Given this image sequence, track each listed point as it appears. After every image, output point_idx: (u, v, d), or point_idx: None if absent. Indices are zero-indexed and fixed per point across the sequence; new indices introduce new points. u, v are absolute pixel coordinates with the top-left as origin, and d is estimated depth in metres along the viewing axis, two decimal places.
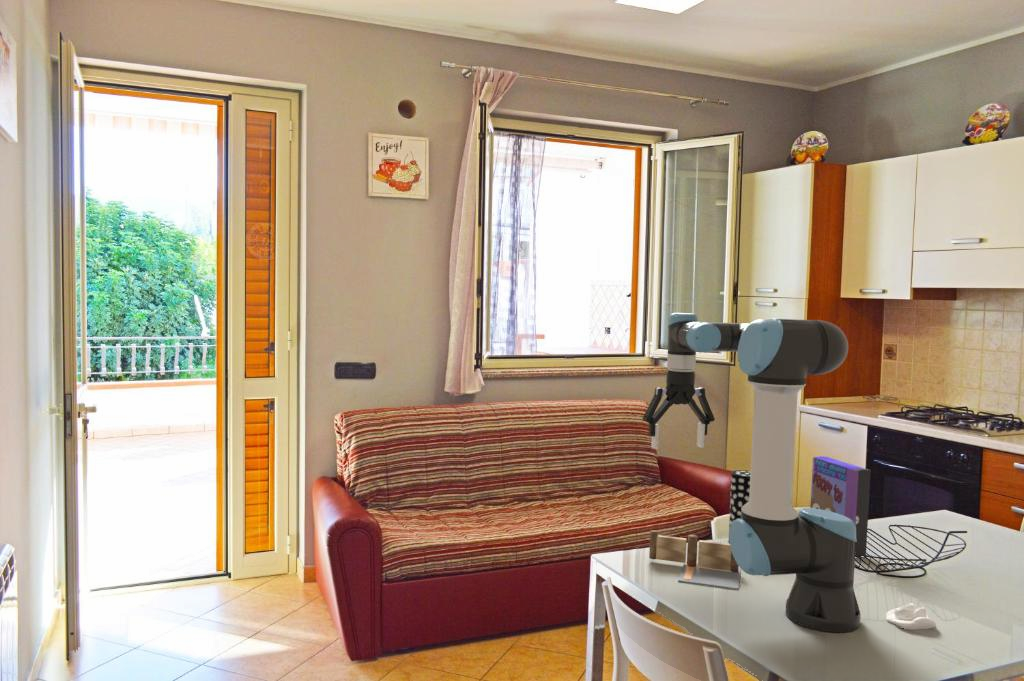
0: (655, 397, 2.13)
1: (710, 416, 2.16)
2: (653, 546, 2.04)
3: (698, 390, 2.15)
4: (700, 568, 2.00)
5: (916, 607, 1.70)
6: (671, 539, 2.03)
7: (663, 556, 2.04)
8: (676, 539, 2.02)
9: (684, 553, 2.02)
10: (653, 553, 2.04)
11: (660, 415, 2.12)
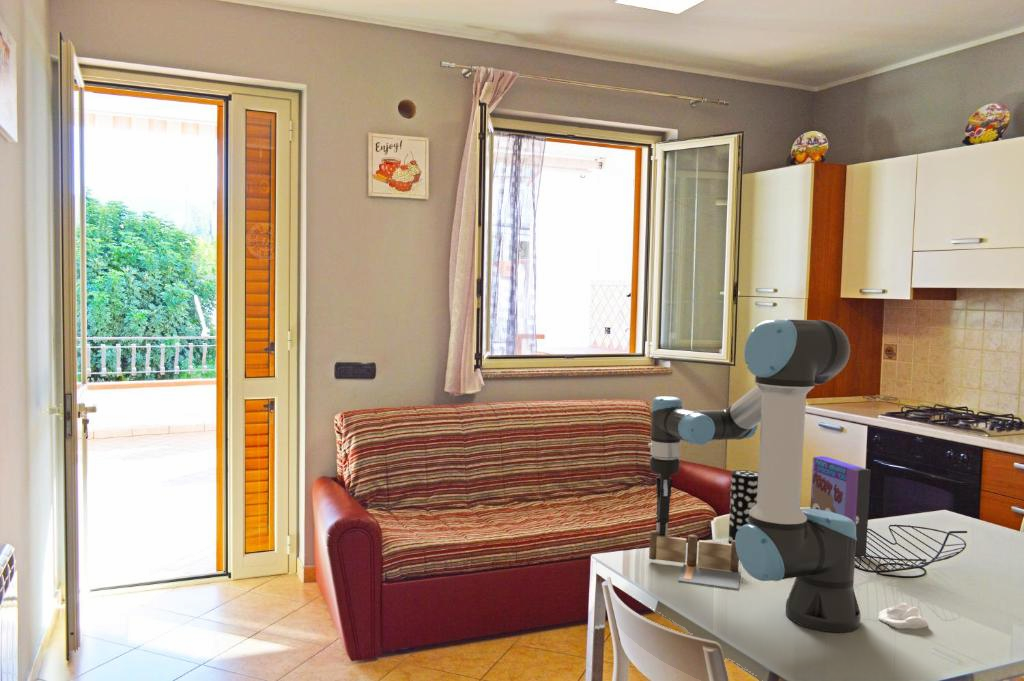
0: (664, 498, 2.00)
1: None
2: (653, 546, 2.04)
3: None
4: (700, 568, 2.00)
5: (908, 606, 1.70)
6: (671, 539, 2.03)
7: (663, 556, 2.03)
8: (676, 539, 2.02)
9: (684, 553, 2.02)
10: (653, 553, 2.04)
11: None
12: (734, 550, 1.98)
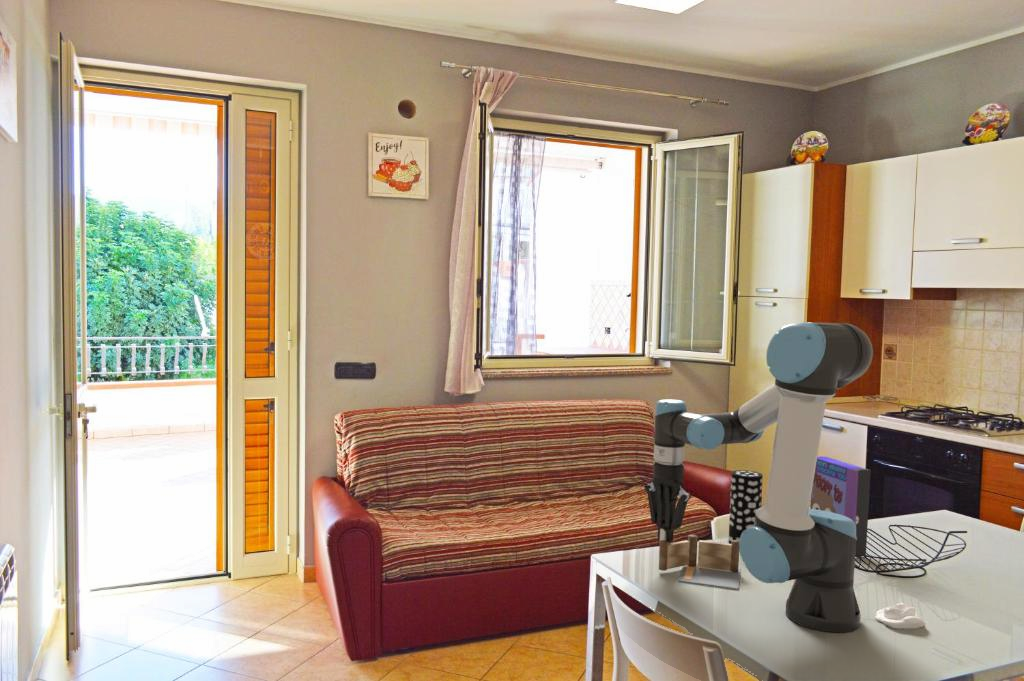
0: (683, 504, 1.94)
1: None
2: (666, 557, 1.96)
3: None
4: (700, 568, 2.00)
5: (905, 606, 1.70)
6: (678, 545, 1.98)
7: (672, 564, 1.98)
8: (682, 543, 1.99)
9: (688, 555, 2.00)
10: (666, 564, 1.96)
11: None
12: (734, 550, 1.98)
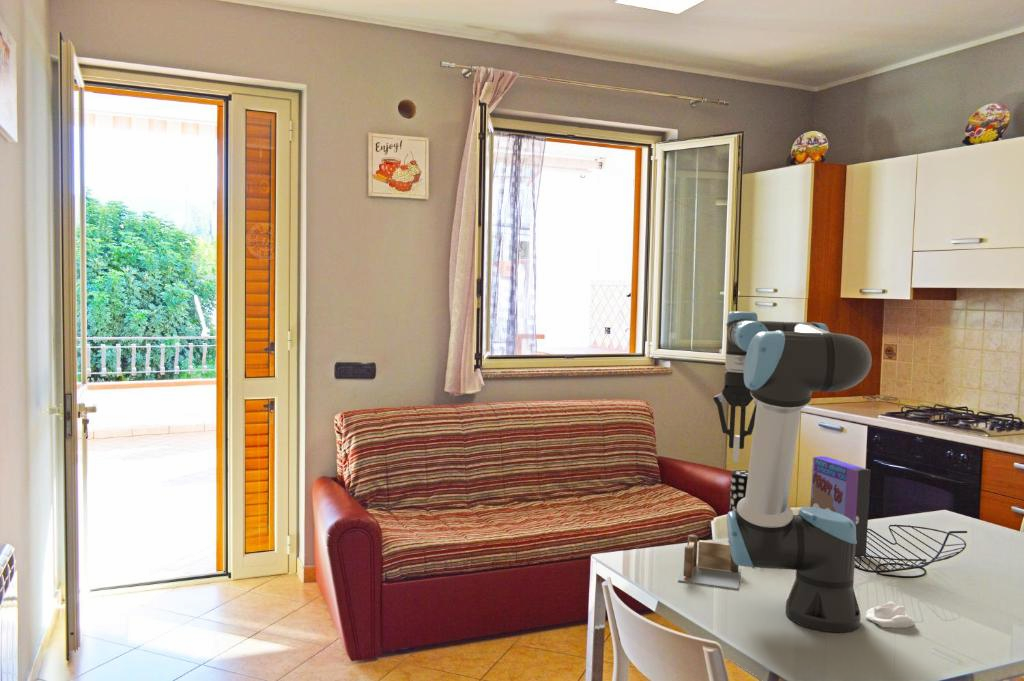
0: None
1: None
2: (692, 562, 1.92)
3: None
4: (700, 568, 2.00)
5: (895, 605, 1.70)
6: (693, 547, 1.97)
7: None
8: (693, 545, 1.98)
9: (693, 556, 2.00)
10: None
11: None
12: None
